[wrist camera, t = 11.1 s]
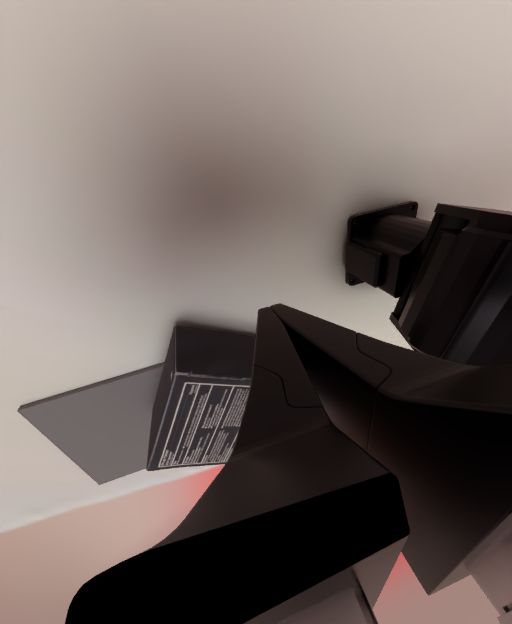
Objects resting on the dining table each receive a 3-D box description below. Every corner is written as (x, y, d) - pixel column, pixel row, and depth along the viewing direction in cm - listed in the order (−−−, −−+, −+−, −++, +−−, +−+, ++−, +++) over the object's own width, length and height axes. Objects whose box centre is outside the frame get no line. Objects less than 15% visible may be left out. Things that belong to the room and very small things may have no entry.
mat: (220, 345, 24) (221, 348, 24) (246, 428, 32) (247, 431, 31) (20, 406, 22) (17, 410, 21) (100, 480, 29) (99, 484, 29)
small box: (279, 337, 25) (173, 320, 21) (309, 383, 20) (175, 374, 16) (244, 410, 29) (149, 409, 25) (261, 465, 24) (144, 476, 20)
